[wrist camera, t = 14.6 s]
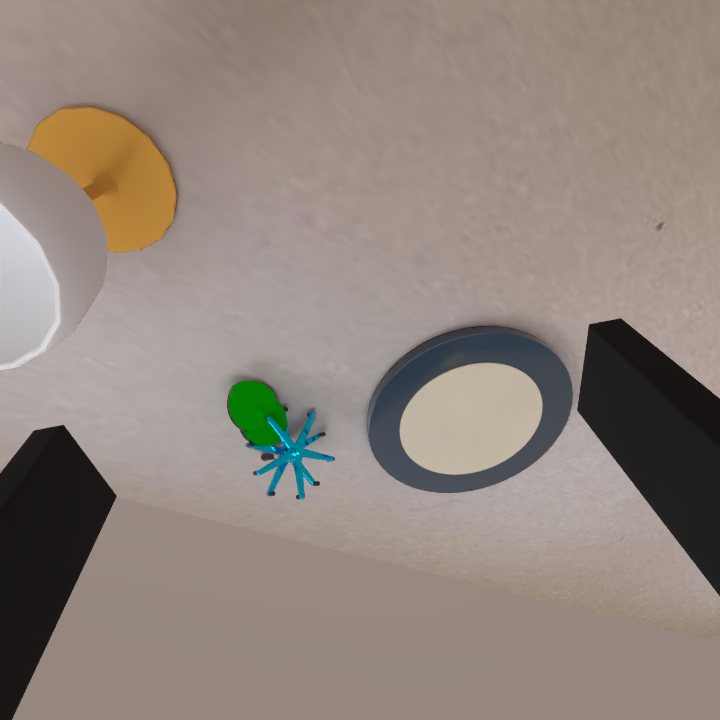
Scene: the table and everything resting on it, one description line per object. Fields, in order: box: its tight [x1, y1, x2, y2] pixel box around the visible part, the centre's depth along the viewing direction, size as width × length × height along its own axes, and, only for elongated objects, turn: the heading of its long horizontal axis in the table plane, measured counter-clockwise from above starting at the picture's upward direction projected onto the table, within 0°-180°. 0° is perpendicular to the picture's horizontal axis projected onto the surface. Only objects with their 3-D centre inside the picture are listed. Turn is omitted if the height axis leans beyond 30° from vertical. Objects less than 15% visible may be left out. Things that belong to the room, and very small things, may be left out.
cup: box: [0, 106, 177, 370], centre depth 22 cm, size 9×9×16 cm
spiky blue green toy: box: [227, 381, 335, 499], centre depth 40 cm, size 12×7×8 cm
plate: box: [367, 326, 573, 493], centre depth 43 cm, size 20×20×1 cm
